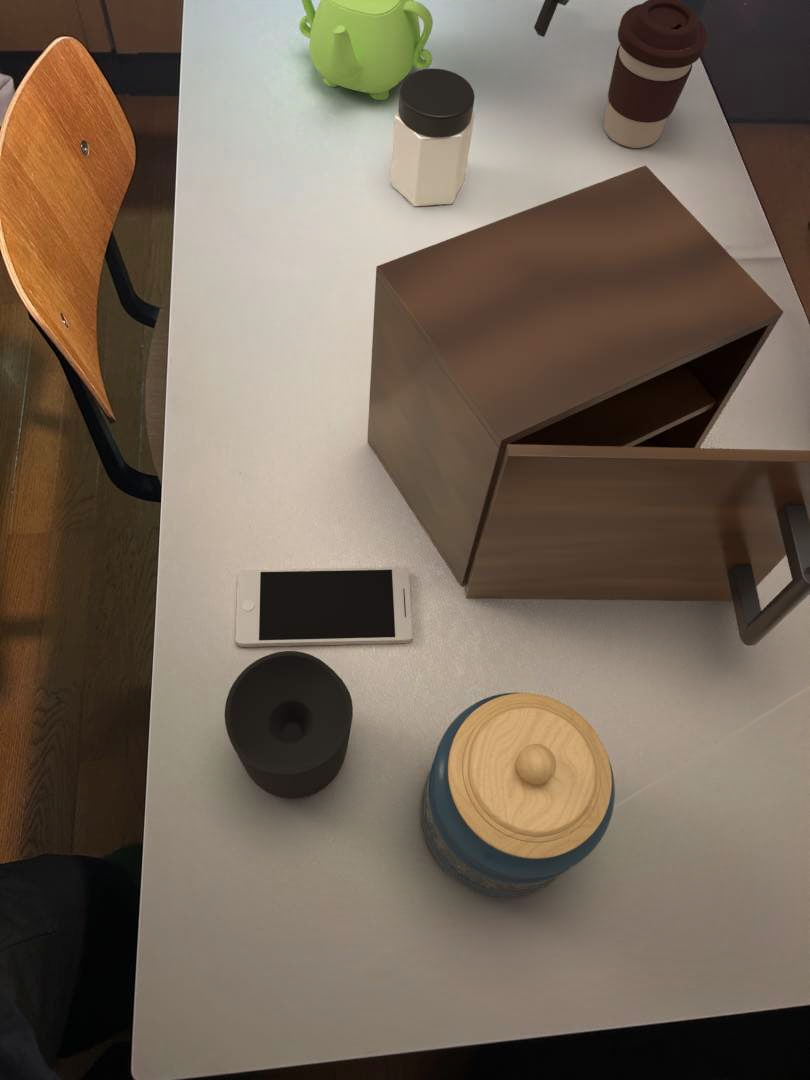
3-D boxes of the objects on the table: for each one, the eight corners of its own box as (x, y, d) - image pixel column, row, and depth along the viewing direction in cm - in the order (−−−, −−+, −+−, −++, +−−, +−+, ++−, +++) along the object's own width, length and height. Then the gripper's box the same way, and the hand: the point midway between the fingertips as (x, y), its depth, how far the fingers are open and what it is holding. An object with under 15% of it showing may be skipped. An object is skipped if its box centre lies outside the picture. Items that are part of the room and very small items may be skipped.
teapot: (441, 107, 117) (452, 9, 106) (333, 127, 114) (333, 28, 102) (397, 29, 124) (404, -71, 112) (294, 45, 120) (290, -55, 109)
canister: (508, 937, 72) (556, 909, 56) (386, 818, 75) (399, 762, 60) (608, 812, 77) (677, 755, 61) (489, 706, 80) (525, 627, 65)
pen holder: (351, 693, 80) (353, 651, 71) (350, 804, 76) (352, 773, 67) (241, 693, 80) (229, 650, 71) (233, 805, 75) (220, 774, 66)
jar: (457, 156, 113) (470, 65, 102) (471, 204, 109) (485, 114, 98) (384, 160, 111) (389, 69, 101) (395, 209, 108) (402, 119, 97)
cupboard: (682, 476, 93) (784, 311, 72) (460, 587, 86) (501, 440, 64) (580, 349, 100) (645, 164, 79) (366, 442, 92) (376, 266, 71)
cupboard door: (757, 670, 83) (898, 548, 63) (469, 669, 82) (515, 543, 61) (741, 591, 87) (869, 451, 66) (465, 588, 85) (506, 443, 65)
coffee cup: (585, 104, 119) (616, -13, 105) (660, 103, 120) (700, -13, 107) (601, 158, 114) (635, 43, 101) (678, 156, 115) (723, 42, 102)
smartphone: (238, 573, 85) (237, 569, 84) (408, 570, 86) (408, 566, 85) (236, 647, 81) (235, 643, 80) (412, 643, 83) (413, 639, 82)
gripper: (449, -269, 93) (370, -42, 100) (682, -191, 89) (583, 41, 95) (466, -227, 100) (391, -18, 107) (682, -153, 96) (590, 60, 102)
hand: (482, 10), depth 101 cm, fingers open, 13 cm apart
